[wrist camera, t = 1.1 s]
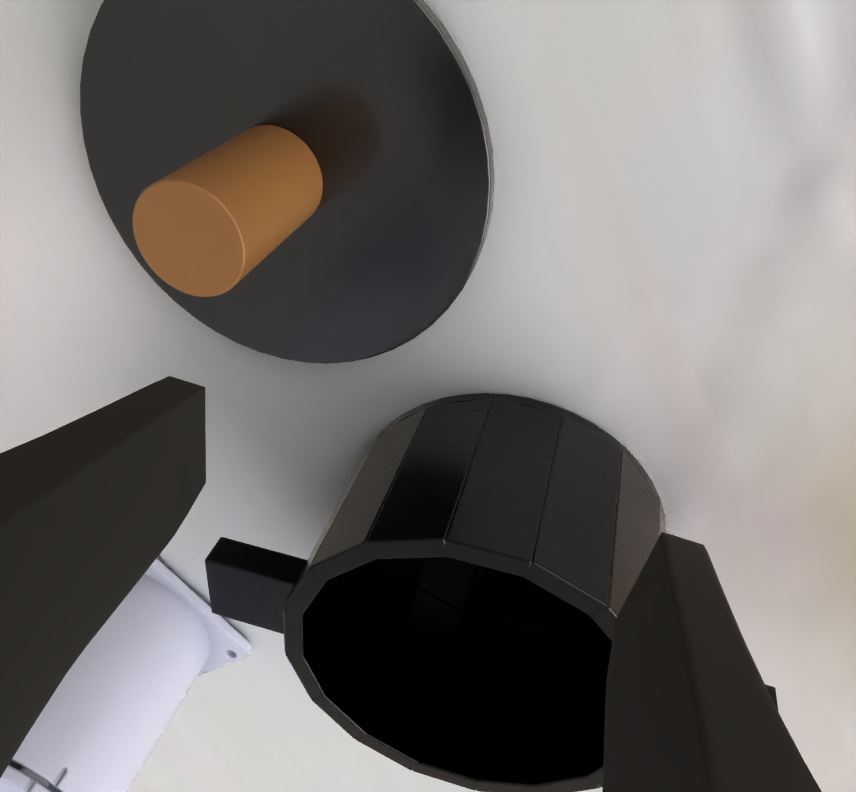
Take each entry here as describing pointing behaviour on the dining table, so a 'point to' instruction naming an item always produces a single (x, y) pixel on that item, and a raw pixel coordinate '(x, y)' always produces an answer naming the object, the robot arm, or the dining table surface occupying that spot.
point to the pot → (464, 592)
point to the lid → (291, 165)
